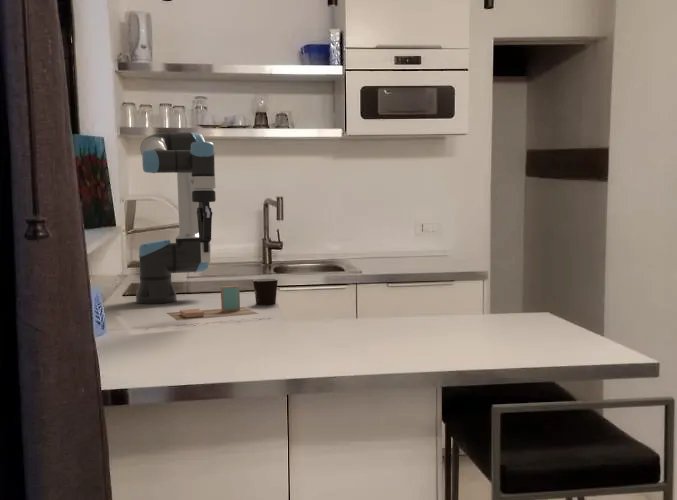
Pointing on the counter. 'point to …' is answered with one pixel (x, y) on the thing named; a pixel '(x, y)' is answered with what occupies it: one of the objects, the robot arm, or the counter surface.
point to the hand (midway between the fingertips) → (205, 262)
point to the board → (215, 314)
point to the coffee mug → (265, 291)
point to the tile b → (230, 298)
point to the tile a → (192, 313)
